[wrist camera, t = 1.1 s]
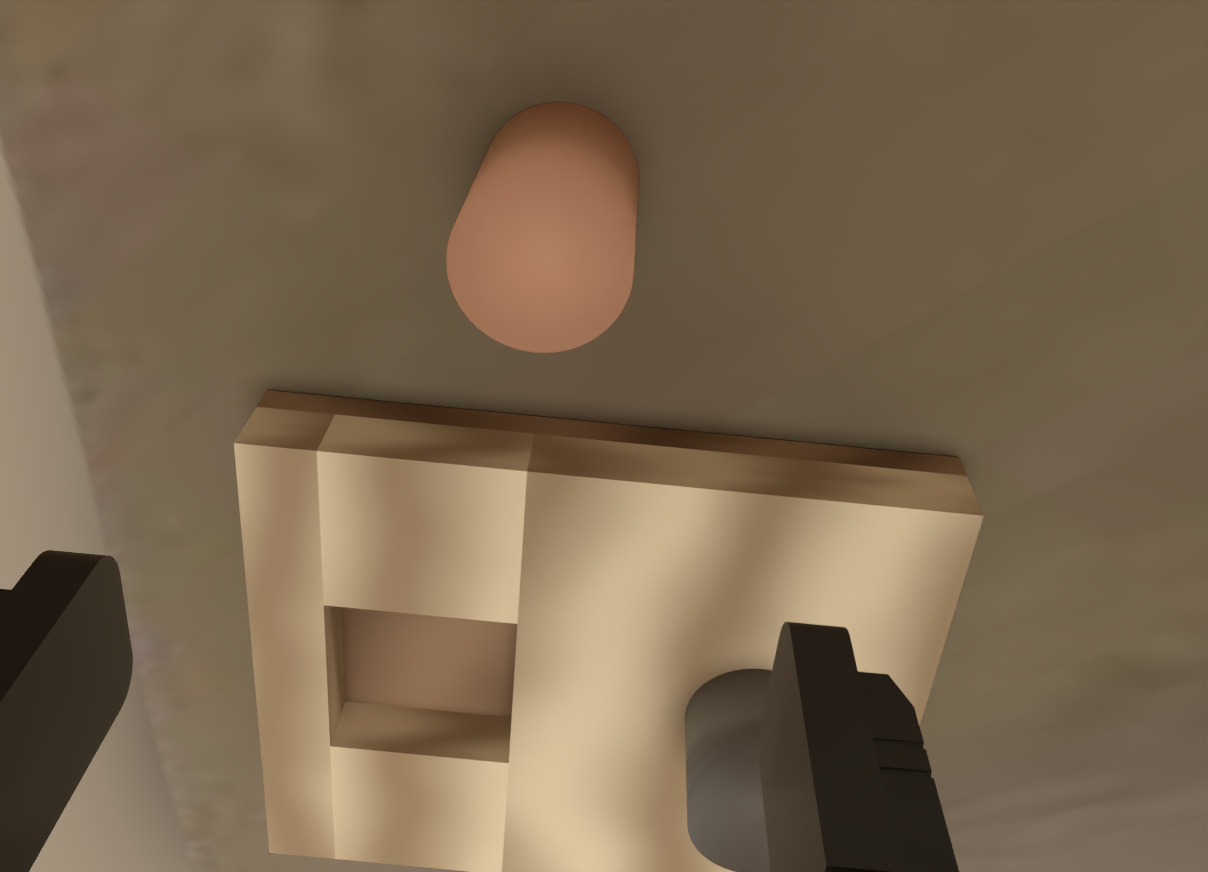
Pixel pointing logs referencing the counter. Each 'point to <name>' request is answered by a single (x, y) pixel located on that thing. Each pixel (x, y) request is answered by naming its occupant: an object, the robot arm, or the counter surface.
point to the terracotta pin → (548, 230)
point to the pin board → (560, 625)
